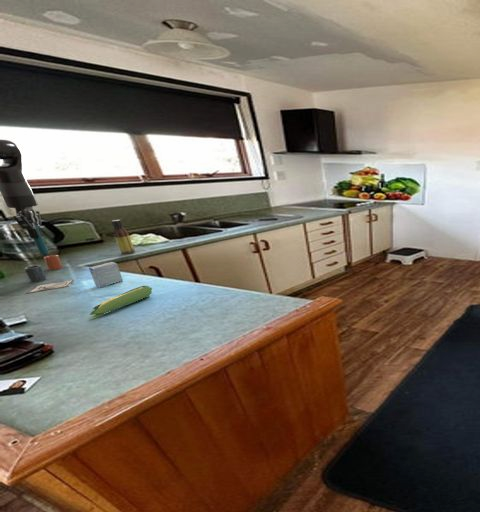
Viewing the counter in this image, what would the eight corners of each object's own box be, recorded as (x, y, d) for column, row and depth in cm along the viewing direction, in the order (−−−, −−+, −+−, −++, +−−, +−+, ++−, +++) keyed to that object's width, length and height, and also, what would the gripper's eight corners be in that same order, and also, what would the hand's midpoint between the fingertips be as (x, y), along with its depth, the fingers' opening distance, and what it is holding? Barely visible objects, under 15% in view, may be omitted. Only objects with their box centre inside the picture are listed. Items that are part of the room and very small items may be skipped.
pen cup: (47, 271, 134) (41, 258, 132) (51, 268, 138) (46, 255, 135) (61, 269, 136) (55, 256, 134) (64, 267, 140) (59, 254, 138)
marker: (40, 257, 112) (26, 226, 108) (42, 255, 114) (29, 225, 110) (48, 255, 113) (35, 225, 109) (51, 254, 115) (37, 224, 111)
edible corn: (157, 295, 108) (154, 284, 106) (93, 321, 90) (88, 309, 88) (148, 293, 109) (145, 283, 108) (83, 319, 91) (78, 307, 90)
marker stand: (29, 284, 120) (22, 269, 117) (34, 280, 123) (27, 266, 121) (44, 281, 122) (37, 267, 120) (49, 278, 126) (42, 264, 123)
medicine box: (118, 279, 124) (112, 261, 121) (123, 281, 122) (117, 263, 119) (95, 286, 117) (88, 267, 114) (100, 288, 115) (92, 269, 112)
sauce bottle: (129, 250, 165) (118, 218, 159) (137, 251, 164) (127, 219, 158) (117, 254, 159) (106, 221, 153) (126, 254, 158) (114, 221, 152)
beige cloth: (26, 294, 110) (25, 293, 109) (36, 287, 117) (36, 285, 117) (68, 287, 116) (67, 286, 116) (76, 280, 123) (75, 279, 123)
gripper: (13, 193, 109) (32, 235, 115) (-9, 196, 98) (13, 242, 104) (40, 192, 113) (57, 232, 119) (23, 195, 102) (42, 239, 107)
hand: (37, 237), depth 111 cm, fingers closed on marker, 2 cm apart
